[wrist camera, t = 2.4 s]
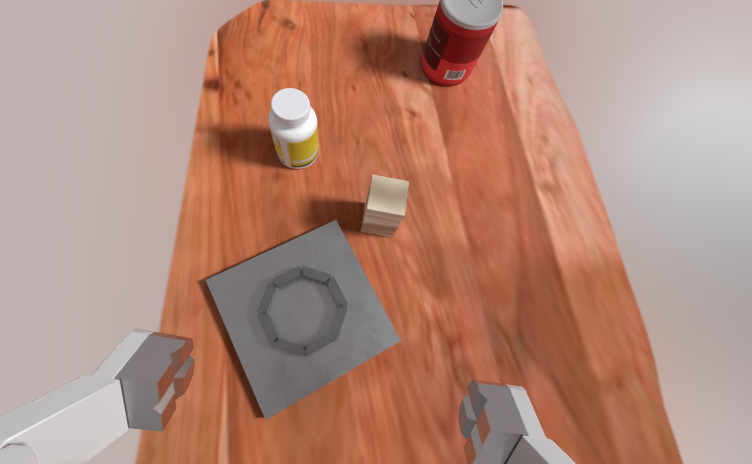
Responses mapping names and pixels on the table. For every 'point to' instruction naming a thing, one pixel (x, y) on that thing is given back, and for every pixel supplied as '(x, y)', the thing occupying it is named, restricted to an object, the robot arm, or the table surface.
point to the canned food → (458, 38)
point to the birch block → (384, 206)
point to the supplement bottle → (294, 128)
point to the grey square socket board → (301, 316)
